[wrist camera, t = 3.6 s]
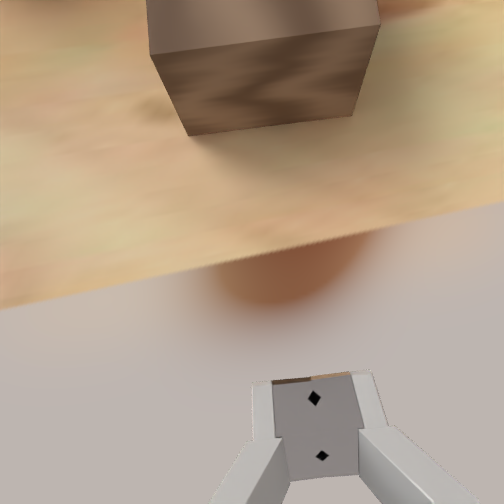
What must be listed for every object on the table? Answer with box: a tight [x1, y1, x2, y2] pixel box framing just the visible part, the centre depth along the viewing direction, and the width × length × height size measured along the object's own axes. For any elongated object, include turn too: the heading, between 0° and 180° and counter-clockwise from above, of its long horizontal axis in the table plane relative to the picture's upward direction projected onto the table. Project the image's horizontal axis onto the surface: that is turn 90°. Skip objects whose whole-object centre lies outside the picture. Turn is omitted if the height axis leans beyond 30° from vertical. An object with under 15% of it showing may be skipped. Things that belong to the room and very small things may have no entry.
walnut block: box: [146, 0, 381, 136], centre depth 29 cm, size 12×12×10 cm
